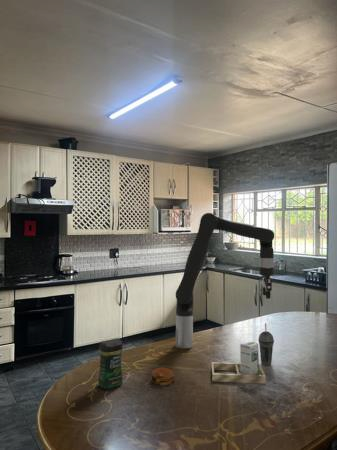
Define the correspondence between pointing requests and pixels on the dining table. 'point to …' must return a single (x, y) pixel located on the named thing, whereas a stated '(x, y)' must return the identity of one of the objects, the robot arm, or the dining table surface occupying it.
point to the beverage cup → (266, 347)
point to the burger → (162, 376)
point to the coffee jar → (110, 363)
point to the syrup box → (249, 358)
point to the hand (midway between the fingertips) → (266, 296)
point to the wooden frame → (237, 376)
